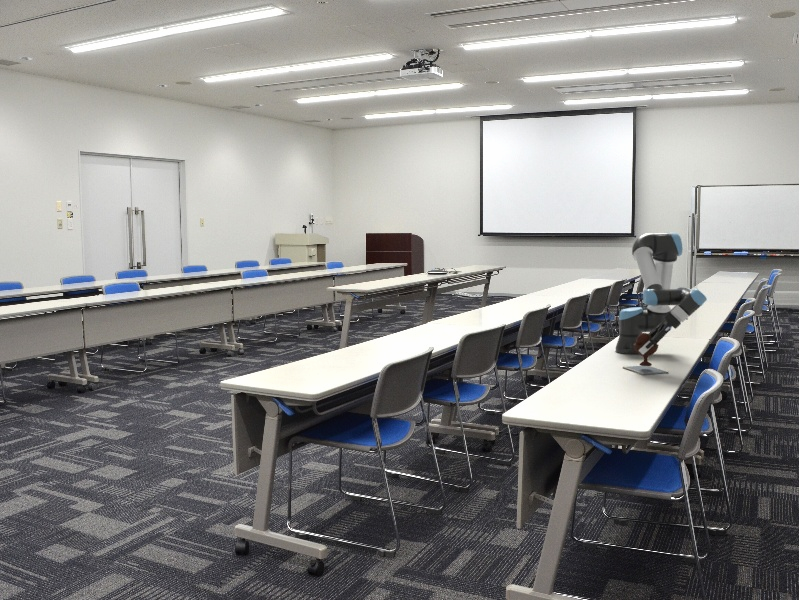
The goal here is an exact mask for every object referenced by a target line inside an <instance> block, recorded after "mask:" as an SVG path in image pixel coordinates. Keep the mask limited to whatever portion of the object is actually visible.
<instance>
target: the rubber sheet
mask: <svg viewBox="0 0 800 600" xmlns="http://www.w3.org/2000/svg"><path fill="white" fill-rule="evenodd" d="M622 369H624V370H627V371H629V372H632V371H633V372H632V373H635V372H636V374H638V373H639V375H641V374H642V376H647V375H646V374H652V375H661V374H660V373H666V374H669V373H670V372H669V371H668V370H665V369H661V368H658V367H654V366H641V365H633V366H632V365H630V366H622Z"/></svg>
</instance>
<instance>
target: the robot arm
mask: <svg viewBox="0 0 800 600" xmlns="http://www.w3.org/2000/svg"><path fill="white" fill-rule="evenodd" d="M631 254H632V258H633V260H634V261H636V262H637V263H636V264H637V266H638V270H639V273H640V276H641V279H642V282H643V285H644V288H645V289H644V291H643V294H642V300H643V304H644V305H645V306H647V307H646V308H647V309H643V307H640V306H639V307H637V306H635V307H628V308H623V309H621V310H620V311H619V317H618V320H619V323H618V325H619V327H618V328H619V329H618V330H619V332H618V334H619V335H618V336H619V337H618V340H617V343H616V346H615V353H617V354H618V353H620V354H626V355H639V354H638V353H637V352H636V351H635V349H634V346H633V344H635V343H636V340H637V337H638V335H639V334H641V333H647V334H649V335H650V336H651V338H652V339H649V341H648V342H647V343H646V344H645V345H644V346H643V347H642V348H640V349H639V350H638V351H639V352H640V353H641V354H642V355H643V354H645V353H646V352H647V351H648V350H649V349H650V348H651V347H652V346H653V345H655V344H658V343H659V342H660V341H661V340H662V339H663V338H664V337H665V336H666V335H667V334H668V333H669V332H670V331H671V330H672V328H674V329H675V330H676V329H678V327H679V326H681V325H682V324H681V323H684V322H685V321H686V320H689V317H690V316H691V315H693V314H694V313H695V312H696V311H697V310H698V309H699V308H700V307H702V306H703V305H704V303H706V302H707V301H708V300H707V296H706V295H705V294H704V293H703V292H702V291H700V290H699V289H698V288H693V289H692V290H690V289H689V288H687V287H684V286H683V287H680V286H679V287H677V288H672V289H671V285H672V284H671V283H672V275H673V268H674V263H676V262H677V260H678V257H680V256H682V254H683V242H682V238H681V236H680V235H679V233H677V232H653V233H652V232H648V233H644V234H642V235H640V236H639V237H638V238H636V240H635V241H634V243H633V245H632V248H631ZM670 306H673V307H672V308H671V307H670ZM642 355H641V356H642Z"/></svg>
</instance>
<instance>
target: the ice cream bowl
mask: <svg viewBox="0 0 800 600" xmlns="http://www.w3.org/2000/svg"><path fill="white" fill-rule="evenodd" d="M649 339H652V338H651V336H650V335H649V334H648V332H642V333H641V334H639V335H638V337H637V340H636V343H635V344H633V346H634V349H635V351H636V352H637V353H638V354H637V355H640V356H642V357H643V361H642V362H640V363H639V365H638V366H652V365H653V364H652V363H651V362H649V359H648V358H649V357H651V356H652V355H654V354H655V353H656V352H657V350H659V349H658V348H659V344H658V343H657V344H655V345H653V346H652V347H651V348H650V349H649V350H648V351H647V352H646V353H645V354H643V355H642V354H641V353H640V352H639V351H638V350H639V349H640V348H642V347H643V346H644V345H645V344H646V343H647V342H648V341H649ZM652 367H653V366H652Z"/></svg>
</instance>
